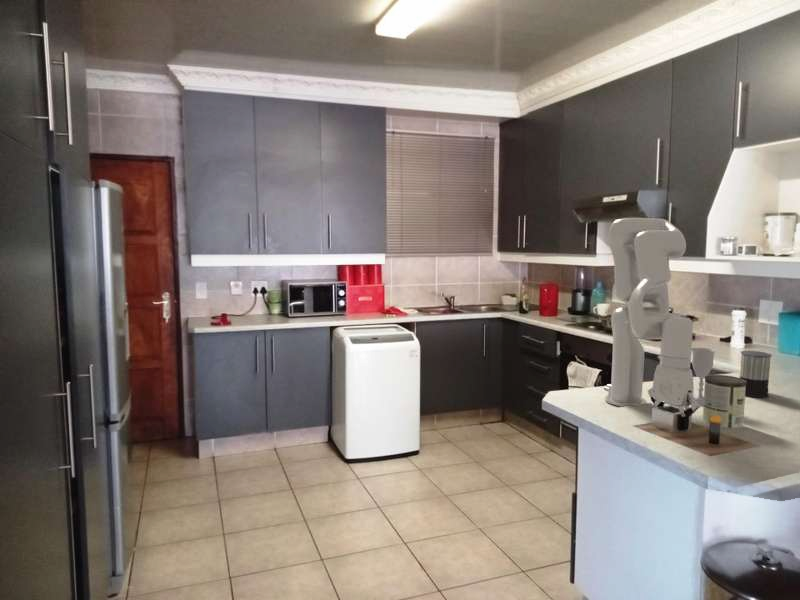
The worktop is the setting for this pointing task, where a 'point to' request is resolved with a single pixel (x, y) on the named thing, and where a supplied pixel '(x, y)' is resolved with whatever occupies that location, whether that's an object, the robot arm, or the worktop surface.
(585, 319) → the worktop surface
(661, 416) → the white hollow square box
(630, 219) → the robot arm
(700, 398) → the chalice
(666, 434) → the board
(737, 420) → the coffee can
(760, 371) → the milk frother
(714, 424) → the post
